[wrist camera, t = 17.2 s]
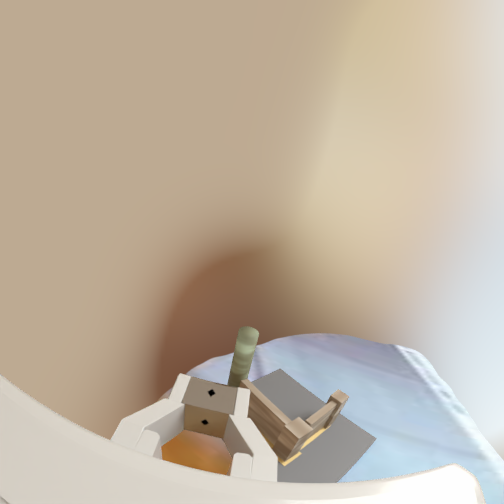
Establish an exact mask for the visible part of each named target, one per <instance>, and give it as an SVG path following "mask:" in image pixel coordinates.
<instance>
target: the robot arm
mask: <svg viewBox="0 0 504 504" xmlns="http://www.w3.org/2000/svg"><path fill="white" fill-rule="evenodd" d="M249 398H250V389H245V388H240V387H234V386H229V385H224V384H220V383H214V382H210V381H206V380H203V379H199V378H195V377H191V376H188V375H184V374H179V375H178V377H177V380H176V382H175V384H174V386H173V389H172V391H171V393H170V395H169V398H168V399H166V398H164V399H162V400H160V401H158V402H156V403H154V404H152V405H150V406H148V407H146V408H144V409H142V410H140V411H138V412H136V413H134V414H132V415H130V416H128V417H126V418H124V419H122V420H121V422H120V424H119V426H118V428H117V430H116V431H115V433H114V435H113V437H112V438H111V440H108V439H106V438H104V437H102V436H99V435H97V434H95V433H93V432H91V431H89V430H87V429H85V428H83V427H81V426H79V425H77V424H75V423H74V422H72V421H70V420H68V419H66V418H65V417H63V416H61V415H59V414H57V413H56V412H54V411H53V410H51V409H49V408H48V407H46V406H45V405H43V404H41V403H40V402H38V401H37V400H35V399H34V398H32V397H31V396H29V395H28V394H26V393H25V392H24V391H22V390H21V389H19V388H18V387H17V386H15V385H14V384H13V383H11V382H10V381H9V380H7V379H6V378H5V377H4V376H3V375H1V374H0V504H486V502H485V499H484V496H483V492H482V489H481V486H480V484H479V482H478V480H477V478H476V477H475V476H474V475H473V474H472V473H471V472H469V471H468V470H466V469H465V468H463V467H462V466H460V465H458V464H456V463H452V464H448V465H444V466H441V467H437V468H433V469H429V470H425V471H421V472H416V473H412V474H407V475H401V476H396V477H390V478H383V479H375V480H367V481H356V482H342V483H289V482H277V465H278V457H277V456H276V454H275V453H274V452H273V450H272V449H271V447H270V446H269V445H268V443H267V442H266V440H265V439H264V437H263V436H262V435H261V433H260V432H259V430H258V429H257V427H256V426H255V424H254V423H253V421H252V420H251V418H247V415H248V406H249ZM183 429H184V430H188V431H193V432H197V433H202V434H206V435H210V436H214V437H218V438H222V439H223V440H224V443H225V445H226V447H227V449H228V451H229V453H230V455H231V457H232V461H231V464H230V467H229V470H228V472H227V475H222V474H216V473H212V472H207V471H202V470H198V469H194V468H190V467H186V466H182V465H178V464H175V463H171V462H168V461H165V460H162V452H161V446H163V445H164V444H165V443H167V442H168V441H170V440H171V439H172V438H174V437H175V436H176V435H178V434H179V433H180V432H182V431H183Z"/></svg>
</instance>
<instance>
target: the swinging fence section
mask: <svg viewBox="0 0 504 504" xmlns="http://www.w3.org/2000/svg"><path fill="white" fill-rule="evenodd" d="M258 336H259V332H258V331H257V330H255V329H254V328H251V327H241V328H240V329H239V332H238V337H237V342H236V346H235V351H234V356H233V361H232V365H231V370H230V375H229V380H228V384H227V385H229V386H234V387H240V388H245V389H250V398H249V406H248V415H247V418H251V420H252V421H253V423H254V424H255V426H256V427H257V429H258V430H259V431H260V432H261V433H262V434H263V435H264V436H265V437H266V438H267V439H268V440H269V441H270V442H271V443H272V444H273V445H274V447H273V449H272V450H273V452H275V453H276V454H277V455H278V456H279V457H280V458H281V459H282V460H283V461H284V462H285V461H287V460H288V459H290V458H291V457H293V456H294V455H296V454H297V453H298V452H299V451H300V449H301V448H302V446H303V445H304V443H305V442H306V440H307V439H308V437H309V435H310V434H311V432H312V431H313V428H312V427H310V426H309V425H308V424H307V423H306V422H304V421H303V420H302V419H301V418H300V417H298V418H296V419H295V420H293V421H291V420H290V419H289V418H288V417H287V416H286V415H285V414H284V413H283V412H282V411H280V410H279V409H278V408H277V407H276V406H275V405H274V404H273V403H272V402H271V401H270V400H269V399H268V398H267V397H265V396H264V395H263V394H262V393H261V392H260V391H259V390H258V389H257V388H256V387H255V386H254V385H253V384H252V383H251V382H250V381H249V380H248V379H247V378H248V374H249V370H250V366H251V363H252V359H253V355H254V351H255V347H256V343H257V339H258Z"/></svg>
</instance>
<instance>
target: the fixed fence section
mask: <svg viewBox="0 0 504 504" xmlns="http://www.w3.org/2000/svg"><path fill="white" fill-rule="evenodd" d="M348 398H349V396H348V395H346V394H345V393H343V392H342V391H340V390H339V389H338V390H337V391H336V392H335V393H333V394H332V395H331V396H330V398H329V400H328V402H327V403H326V405H325V406H324V407H323V408H321V409H320V410H319V411H317V412H316V413H315V414H313V415H312V416H310V417H309V418H308V419H306V420H305V422H306V423H307V424H308V425H309V426H310V427H312V428H313V431H312V432H311V434H310V435H309V437H308V439H309V438H310V437H312V436H313V435H314V434H316V433H317V432H318V431H319V430H321V429H322V428H323V427H324V428H325V429H326V428H328V427H329V426H330V425H331V424H332V423H333V422H334V421H335V419H336V418H337V416H338V414H339V413H340V411H341V410H342V408H343V406H344V405H345V403H346V401H347V400H348ZM308 439H307V440H308ZM307 440H306V441H307Z"/></svg>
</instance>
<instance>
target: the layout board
mask: <svg viewBox="0 0 504 504" xmlns="http://www.w3.org/2000/svg"><path fill="white" fill-rule="evenodd" d="M251 383H252V384H253V385H254V386H255V387H256V388H257V389H258V390H259V391H260V392H261V393H262V394H263V395H264V396H265V397H267V398H268V399H269V400H270V401H271V402H272V403H273V404H274V405H275V406H276V407H277V408H278V409H279V410H280V411H282V412H283V413H284V414H285V415H286V416H287V417H288V418H289V419H290V420H291V421H293V420H295V419H296V418H298V417H300V418H301V419H302V420H303V421H304V422H305V420H306V419H308V418H309V417H310V416H312V415H313V414H315V413H316V412H317V411H319V410H320V409H321V408H323V407H324V406H325V405H326V403H324V402H323V401H322V400H320V399H319V398H318V397H316V396H315V395H314V394H312V393H311V392H310V391H308V390H307V389H306V388H304V387H303V386H302V385H300V384H299V383H298V382H297V381H295V380H294V379H293V378H291V377H290V376H289V375H288V374H286V373H285V372H284V371H283V370H281V369H279V370H277V371H274V372H272V373H270V374H268V375H266V376H264V377H262V378H259V379H257V380H255V381H253V382H251ZM259 432H260V431H259ZM260 433H261V432H260ZM261 435H262V436H263V437H264V439H265V440H266V442H267V443H268V445H269V446H270V447H271V449H273V447H274V445H273V444H272V443H271V442H270V441H269V440H268V439H267V438H266V437H265V436H264V435H263V434H262V433H261ZM376 439H377V438H375V437H374V436H372V435H370V434H369V433H367V432H366V431H364V430H363V429H361V428H360V427H358V426H357V425H356V424H354V423H353V422H351V421H350V420H348V419H347V418H345V417H344V416H343V415H341V414H340V413H339V414H338V416H337V418H336V419H335V421H334V422H333V423H332V424H331V425H330V426H329V427H328V428H326V429H325V428H324V427H323V428H322V429H321V430H319V431H318V432H317V433H316V434H314V435H313V436H312V437H310V438H309V439H308V440H307V441H306V442H305V443H304V445H303V446H302V448H301V449H300V451H299V452H298V453H297V454H296V455H294V456H293V457H291V458H290V459H288V460H287V461H285V462H284V461H283V460H282V459H281V458H280V457H279V456H278V455H277V454H276V453H275V452H274V453H275V454H276V456H277V457H278V465H277V482H289V483H337V482H338V481H339V480H340V479H341V478H342V477H343V476H344V475H345V474H346V473H347V472H348V471H349V470H350V469H351V467H352V466H353V465H354V464H355V463H356V462H357V461H358V460H359V459H360V458H361V457H362V455H363V454H364V453H365V452H366V451H367V450H368V448H369V447H370V446H371V445H372V444H373V442H374V441H375V440H376Z"/></svg>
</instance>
